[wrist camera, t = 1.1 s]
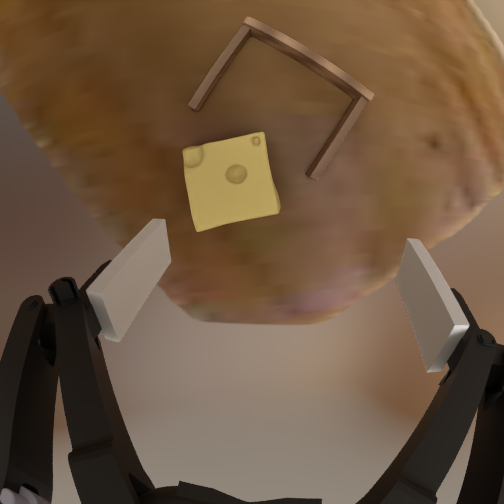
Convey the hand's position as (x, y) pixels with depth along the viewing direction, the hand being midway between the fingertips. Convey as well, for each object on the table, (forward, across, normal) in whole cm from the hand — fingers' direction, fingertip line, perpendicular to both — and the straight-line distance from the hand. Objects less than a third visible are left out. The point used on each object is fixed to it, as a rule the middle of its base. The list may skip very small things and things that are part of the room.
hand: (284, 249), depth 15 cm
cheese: (+28, -8, -4) cm, 29 cm away
